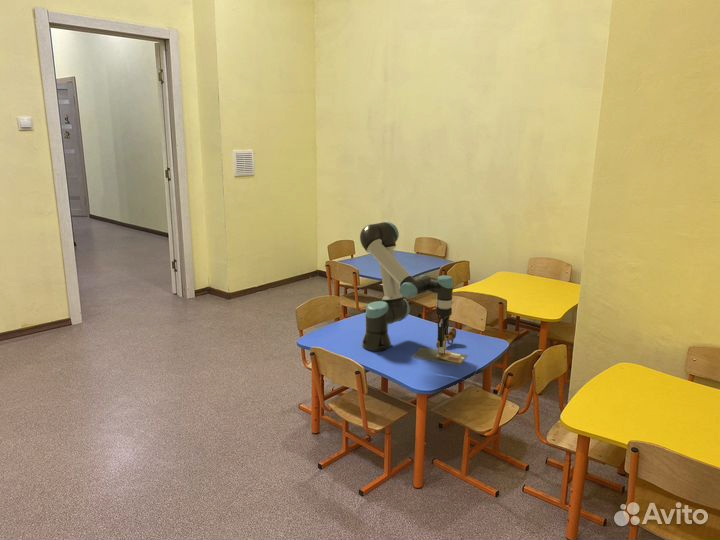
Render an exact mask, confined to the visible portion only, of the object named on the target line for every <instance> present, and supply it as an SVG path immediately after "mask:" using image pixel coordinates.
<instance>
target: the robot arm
mask: <svg viewBox="0 0 720 540" xmlns="http://www.w3.org/2000/svg"><path fill="white" fill-rule="evenodd" d="M399 236H400V234H399V230H398V227H397V226H396V225H395V224H394V223H392V222H389V221H387V222H384V221H383V222H378V223H373V224H367V225H365V226H364V227H363V228H362V229H361V231H360V234H359V240H360V244H361V246H362V248H363V249H364V250H365V252H366V253H368V254H371V255H372V256H373V258H374V259H375V260H376V261H377V262H378V263H379V268H380V276H381V279H382V289H383V294H384V295H383V297H382V299H381V300H380V301H379V300H377V301H373V302H372V301H371V302H370V303H368V304H367V305H366V308H365V334H364V336H363V339H362V345H361V346H362V348H363V349H365V350H367V351H371V352H385V351H387V350H389V349H390V348H391V345H392V342H391V337H390V336H389V330H388V329H389V325H391V324H394V323H397V322H401V321H403V320H405V319H406V318H407V317H408V316H409V314H410V310H411V309H410V303H409V301H407V299H410V298H414V297H417V296H420V295H423V294H428V293H431V294H436V316H438V317H439V318H438V322H437V339H436V340H437V342H438V341H439V350H438V349H437V350H438V352H439V353H444V343H445V341H444V334H445V335H446V343H447V342H448V341H447V338H448V336H447V335H448V333H449V325H450V316H452V315H453V312H452V311H453V304H454V301H453V293H454V292H453V291H454V279H453V277H452V276H451V275H443V274H442V275H439V276H438V277H434V276H430V275H424V274H422V275H420V276H419V277H417V279H415V278H414V277H413V276H412V275H411V274H410V273H409V272H408V270H406V268H405V267H404V266H403V265H402V264H401V263H400V262H399V261H398V259H396V256H395V250H394V249H395V248H396V247H397V244H396V242H397V241H398V239H399ZM445 351H447V347H446V348H445Z"/></svg>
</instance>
